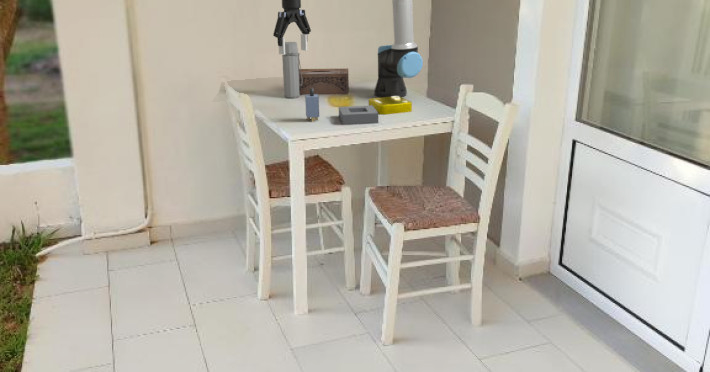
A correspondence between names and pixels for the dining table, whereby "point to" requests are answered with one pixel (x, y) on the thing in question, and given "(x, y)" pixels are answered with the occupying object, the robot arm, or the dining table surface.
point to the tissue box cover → (324, 81)
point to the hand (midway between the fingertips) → (293, 52)
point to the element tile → (391, 105)
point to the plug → (312, 105)
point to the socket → (358, 115)
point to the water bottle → (291, 70)
